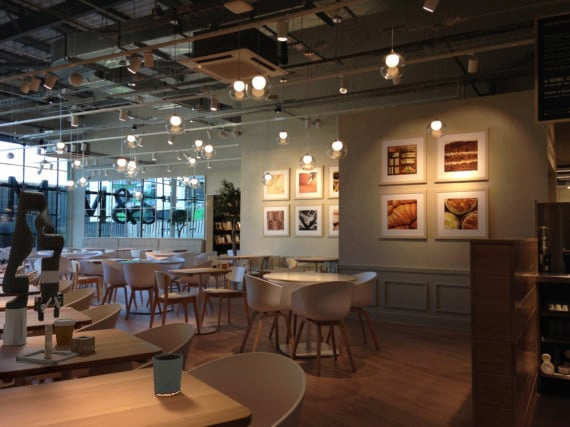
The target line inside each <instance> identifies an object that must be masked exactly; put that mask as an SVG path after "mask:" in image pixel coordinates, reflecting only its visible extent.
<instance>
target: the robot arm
mask: <svg viewBox="0 0 570 427" xmlns="http://www.w3.org/2000/svg"><path fill="white" fill-rule="evenodd" d="M49 211H50V210H49V204H48V199H47V196H46V195H45V194H44V193H43V192H41V191H40V192H39V191H32V190H31V191H30V190H22V191H21V192H20V194H19V198H18V202H17V212H16V219H15V224H14V229H13V234H12V239H11V243H10V249H9V254H8V260H7V265H6V268H5V271H4V274H3V277H2V283H1V289H2V293H3V294H5V295H16V296H15V297H14V298H12V299H11V300H8V301H7V302H5V307H4V308H5V312H4V315H5V318H4V324H3V329H2V345H4V346H8V347H9V346H10V347H11V346H13V347H14V346H21V345H25V344H27V331H28V329H27V328H28V326H27V325H28V302H29V295H30V294H29V292H30V278H29V276H28V275H27V274H26V273H19V274H18V273H17V271H18V269H19V267H20V266H21V265H22V264H23V262H25V261H26V260H27V259H28V257H29V256H30V255H31V253H32V252H33V248H34V243H35V235H34V233H33V231H32V229H31V227H30V226H29V223H28V219H27V212H35V213H36V212H39V214H38V215H37V216H36V218H35V219H34V224H33V225H34V228H35V231H36V233H37V242H36V244H37V245H36V246H37V248H38V249H39V250H40V251H44V252H48V251H49V252H51V251H53V252H52V254H51V255H47V256H43V257H42V258H41V263H40V265H41V266H40V275H39V279H40V280H39V293H40V296H35V297H34V303H33V311H34V312H36V313H37V320H38V322H44V321H45V309H47V308H48V307H49V306H52V307H53V318H55V319H59V318H60V309H61V308H63V307H64V292H60V281H61V280H60V278H61V277H60V276H61V275H60V260H61V256H62V252H63V249H64V246H65V237H64V236H63V234H60V233H59V234H58V233H57V234H56V229H55V227H54V224H53V222H52V220H51V216H50V212H49Z"/></svg>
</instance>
